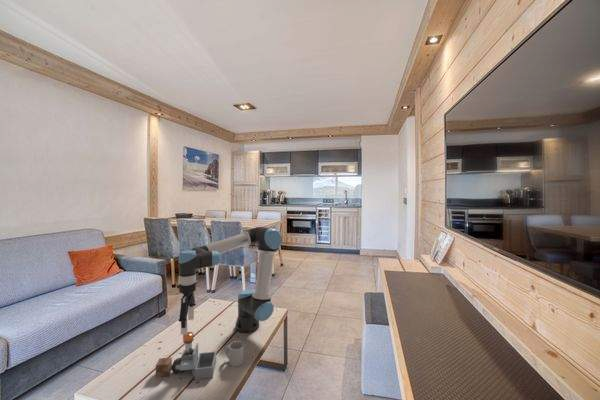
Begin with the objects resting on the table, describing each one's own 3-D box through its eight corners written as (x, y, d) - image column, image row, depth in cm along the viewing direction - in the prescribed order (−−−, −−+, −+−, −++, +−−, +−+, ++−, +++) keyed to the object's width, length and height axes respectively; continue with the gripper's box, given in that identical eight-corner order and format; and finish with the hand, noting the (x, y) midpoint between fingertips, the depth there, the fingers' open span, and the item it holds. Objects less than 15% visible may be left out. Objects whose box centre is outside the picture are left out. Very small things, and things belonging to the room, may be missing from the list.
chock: (171, 369, 126) (171, 357, 126) (168, 376, 121) (168, 364, 121) (159, 370, 125) (159, 358, 125) (155, 378, 120) (155, 365, 120)
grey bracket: (198, 363, 131) (198, 343, 130) (194, 376, 122) (194, 354, 121) (175, 365, 129) (174, 345, 128) (169, 379, 120) (169, 356, 119)
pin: (194, 352, 129) (194, 331, 129) (192, 359, 125) (192, 336, 124) (184, 353, 129) (184, 332, 128) (182, 360, 124) (181, 337, 123)
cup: (239, 368, 127) (239, 350, 127) (221, 364, 130) (221, 346, 130) (246, 358, 134) (246, 342, 134) (229, 355, 137) (229, 338, 137)
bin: (216, 360, 133) (216, 351, 132) (212, 377, 121) (212, 367, 121) (199, 362, 131) (199, 353, 131) (194, 379, 119) (194, 369, 119)
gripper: (185, 275, 137) (186, 314, 137) (171, 293, 112) (171, 341, 113) (200, 274, 138) (200, 313, 139) (189, 292, 113) (189, 340, 114)
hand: (187, 326), depth 126 cm, fingers open, 13 cm apart
